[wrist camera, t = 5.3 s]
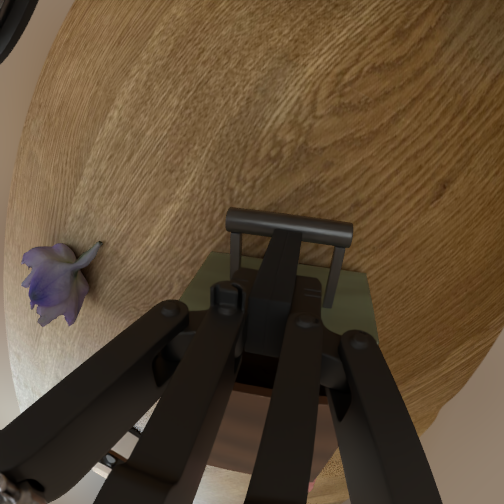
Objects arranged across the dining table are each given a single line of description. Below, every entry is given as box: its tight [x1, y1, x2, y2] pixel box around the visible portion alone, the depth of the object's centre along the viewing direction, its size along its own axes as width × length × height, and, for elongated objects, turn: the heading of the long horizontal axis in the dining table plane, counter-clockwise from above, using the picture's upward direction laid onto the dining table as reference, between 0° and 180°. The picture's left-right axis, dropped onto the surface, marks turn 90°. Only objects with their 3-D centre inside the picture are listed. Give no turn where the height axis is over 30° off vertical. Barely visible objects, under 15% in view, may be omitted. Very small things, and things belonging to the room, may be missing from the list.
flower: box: [21, 241, 102, 327], centre depth 27 cm, size 9×9×10 cm
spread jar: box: [92, 428, 141, 478], centre depth 45 cm, size 12×11×12 cm
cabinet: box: [207, 382, 338, 482], centre depth 27 cm, size 17×14×10 cm
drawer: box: [179, 207, 379, 396], centre depth 23 cm, size 21×12×8 cm, turn 177°
